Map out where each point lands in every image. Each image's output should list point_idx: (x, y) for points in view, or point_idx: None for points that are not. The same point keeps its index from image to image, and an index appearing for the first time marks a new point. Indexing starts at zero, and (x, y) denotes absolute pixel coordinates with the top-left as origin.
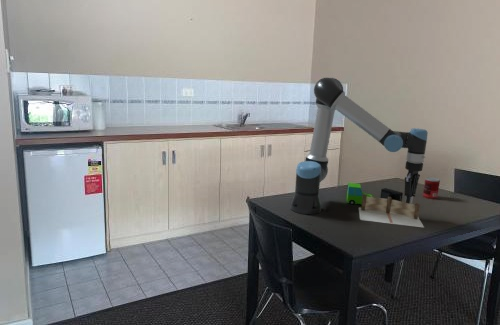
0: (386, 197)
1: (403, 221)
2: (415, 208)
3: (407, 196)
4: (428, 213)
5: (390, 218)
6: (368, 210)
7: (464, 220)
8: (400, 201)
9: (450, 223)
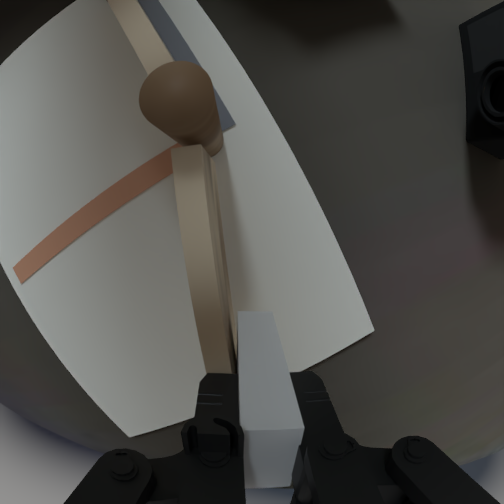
0: (488, 49)
1: (103, 329)
2: None
3: (178, 464)
4: (446, 353)
5: (73, 232)
6: None
7: None
8: (212, 291)
9: None
